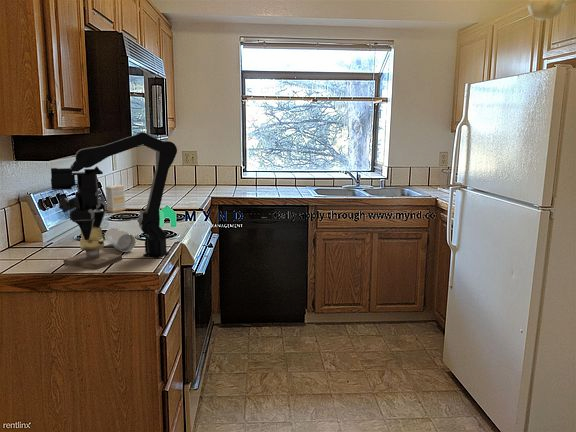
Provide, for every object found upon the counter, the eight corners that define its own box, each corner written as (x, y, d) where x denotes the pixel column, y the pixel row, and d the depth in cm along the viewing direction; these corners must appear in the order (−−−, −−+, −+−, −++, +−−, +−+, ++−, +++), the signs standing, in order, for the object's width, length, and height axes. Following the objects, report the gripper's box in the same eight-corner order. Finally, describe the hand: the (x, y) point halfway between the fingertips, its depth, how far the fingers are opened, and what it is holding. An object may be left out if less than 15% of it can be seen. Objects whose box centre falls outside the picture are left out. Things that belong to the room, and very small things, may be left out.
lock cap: (75, 249, 148) (74, 227, 147) (93, 244, 154) (91, 223, 153) (94, 252, 145) (92, 230, 144) (111, 247, 151) (110, 226, 150)
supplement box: (119, 209, 246) (118, 184, 243) (126, 210, 244) (124, 185, 241) (106, 211, 239) (105, 186, 237) (113, 212, 237) (111, 187, 234)
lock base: (122, 259, 153) (121, 246, 152) (97, 269, 143) (96, 255, 142) (89, 255, 158) (88, 242, 158) (63, 263, 148) (62, 250, 147)
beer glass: (124, 239, 176) (139, 246, 165) (107, 248, 173) (121, 256, 161) (117, 223, 174) (131, 229, 162) (100, 231, 170) (113, 238, 159)
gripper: (71, 185, 154) (75, 230, 157) (49, 193, 136) (54, 244, 139) (106, 184, 156) (109, 230, 159) (88, 192, 137) (92, 243, 140)
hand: (91, 236), depth 149 cm, fingers open, 9 cm apart
